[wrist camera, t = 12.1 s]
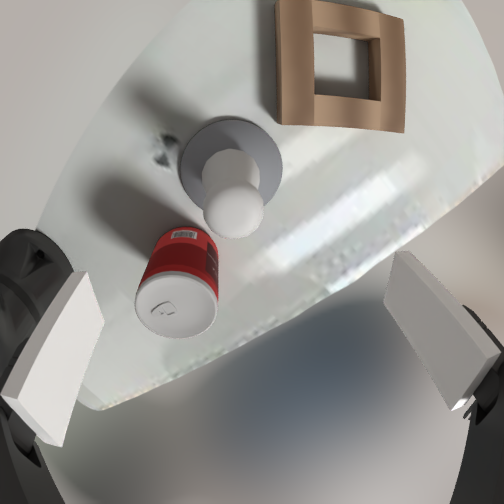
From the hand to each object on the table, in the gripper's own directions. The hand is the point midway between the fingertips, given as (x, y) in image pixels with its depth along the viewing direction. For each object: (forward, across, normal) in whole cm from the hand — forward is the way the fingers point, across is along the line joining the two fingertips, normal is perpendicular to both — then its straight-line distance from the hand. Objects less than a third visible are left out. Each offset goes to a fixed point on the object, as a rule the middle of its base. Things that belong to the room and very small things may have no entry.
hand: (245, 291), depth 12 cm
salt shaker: (+22, 0, 0) cm, 22 cm away
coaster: (+22, 0, 0) cm, 23 cm away
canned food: (+23, -6, -10) cm, 26 cm away
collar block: (+22, +12, +12) cm, 28 cm away
